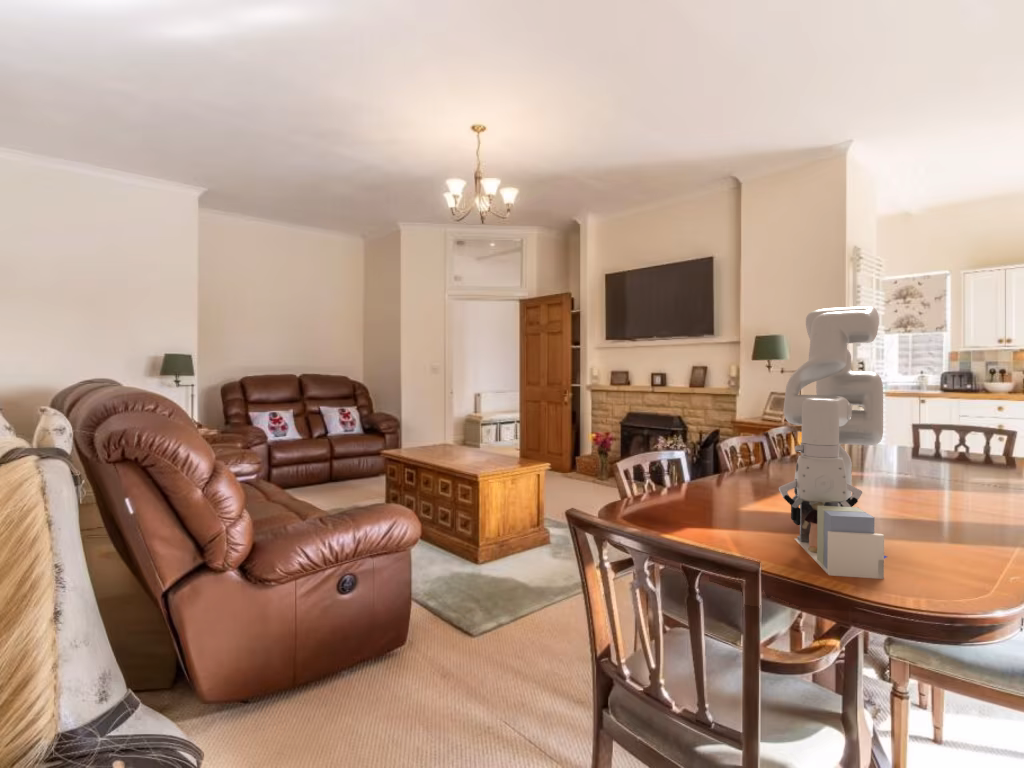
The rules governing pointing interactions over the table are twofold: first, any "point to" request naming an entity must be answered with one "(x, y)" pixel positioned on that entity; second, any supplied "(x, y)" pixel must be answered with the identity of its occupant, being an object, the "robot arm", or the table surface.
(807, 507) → the bookend
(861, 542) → the book rack
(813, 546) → the grandmother figurine
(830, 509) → the book sage
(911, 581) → the table surface
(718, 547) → the table surface
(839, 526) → the book slate
